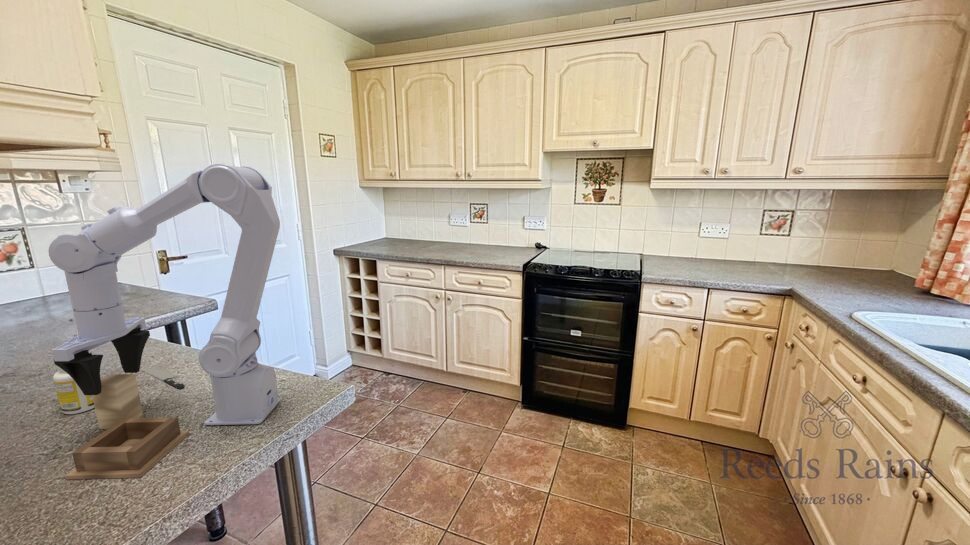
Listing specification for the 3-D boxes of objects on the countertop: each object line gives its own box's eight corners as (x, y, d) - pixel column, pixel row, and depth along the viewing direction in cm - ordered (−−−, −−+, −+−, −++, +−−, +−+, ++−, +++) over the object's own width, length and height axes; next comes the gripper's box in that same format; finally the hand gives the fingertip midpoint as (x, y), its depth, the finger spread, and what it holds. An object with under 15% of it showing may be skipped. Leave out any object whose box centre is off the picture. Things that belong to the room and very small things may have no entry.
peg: (143, 414, 69) (135, 374, 68) (124, 428, 66) (115, 385, 64) (119, 415, 69) (111, 374, 68) (99, 428, 65) (89, 385, 64)
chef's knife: (154, 365, 90) (137, 369, 87) (153, 360, 90) (137, 364, 87) (196, 386, 81) (179, 391, 78) (195, 380, 80) (179, 386, 78)
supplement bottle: (100, 396, 75) (90, 349, 73) (105, 406, 72) (94, 357, 70) (60, 407, 71) (48, 358, 69) (62, 419, 68) (50, 367, 66)
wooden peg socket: (189, 433, 64) (186, 414, 64) (140, 477, 55) (136, 455, 54) (126, 435, 64) (122, 415, 63) (65, 479, 54) (60, 457, 53)
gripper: (111, 294, 70) (125, 363, 73) (22, 321, 56) (43, 406, 59) (152, 294, 70) (164, 363, 73) (74, 321, 56) (92, 405, 59)
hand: (113, 382), depth 66 cm, fingers open, 7 cm apart
